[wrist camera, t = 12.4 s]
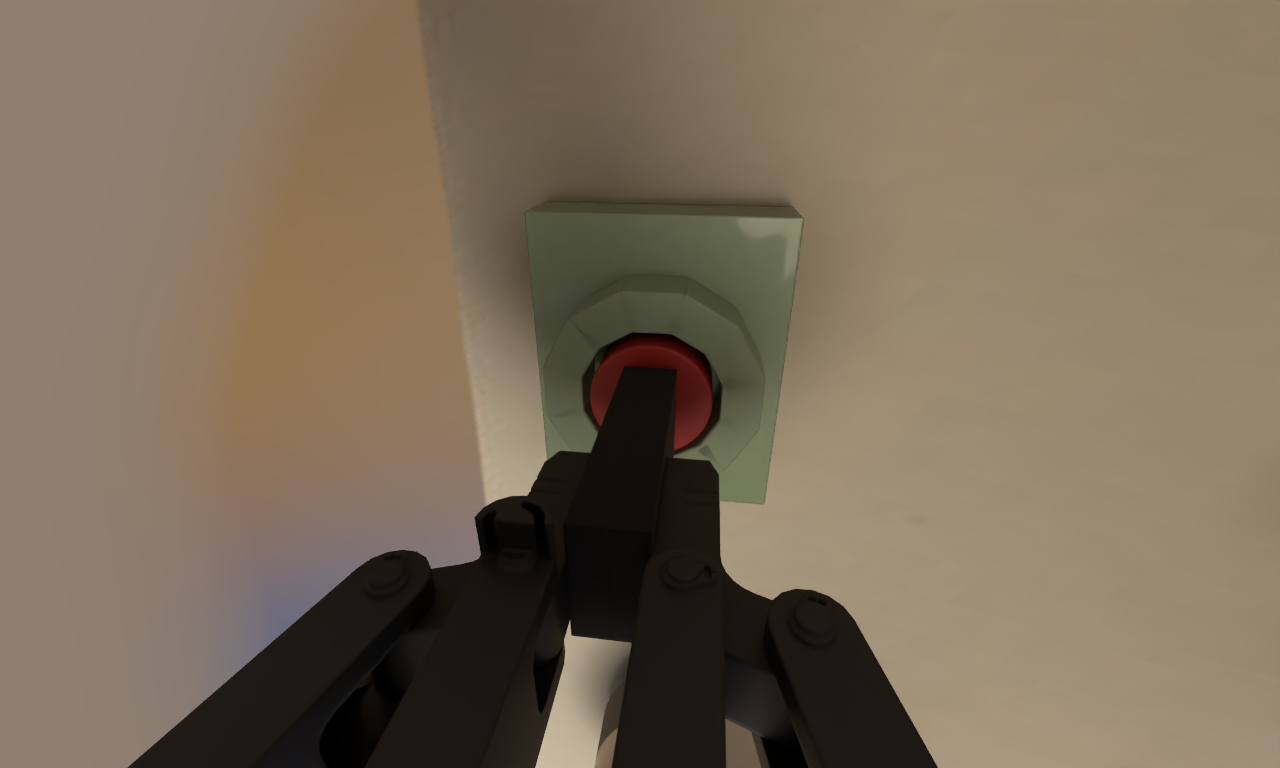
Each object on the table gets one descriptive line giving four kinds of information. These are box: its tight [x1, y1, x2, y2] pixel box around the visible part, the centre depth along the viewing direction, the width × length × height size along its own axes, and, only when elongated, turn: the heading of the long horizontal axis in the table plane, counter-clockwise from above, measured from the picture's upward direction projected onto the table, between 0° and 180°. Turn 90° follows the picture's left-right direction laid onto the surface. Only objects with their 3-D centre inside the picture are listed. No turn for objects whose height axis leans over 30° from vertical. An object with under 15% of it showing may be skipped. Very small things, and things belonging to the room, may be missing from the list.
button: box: [590, 332, 712, 450], centre depth 16 cm, size 4×4×2 cm
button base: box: [525, 202, 804, 504], centre depth 17 cm, size 10×8×4 cm
